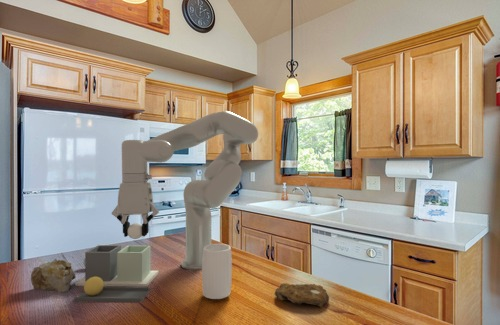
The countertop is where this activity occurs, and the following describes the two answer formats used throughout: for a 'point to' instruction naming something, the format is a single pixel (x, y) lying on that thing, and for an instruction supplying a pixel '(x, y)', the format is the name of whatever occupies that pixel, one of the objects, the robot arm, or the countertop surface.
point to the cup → (216, 271)
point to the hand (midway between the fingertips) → (135, 234)
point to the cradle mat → (115, 295)
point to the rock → (53, 276)
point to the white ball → (135, 231)
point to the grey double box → (119, 265)
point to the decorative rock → (303, 294)
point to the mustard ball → (93, 286)
